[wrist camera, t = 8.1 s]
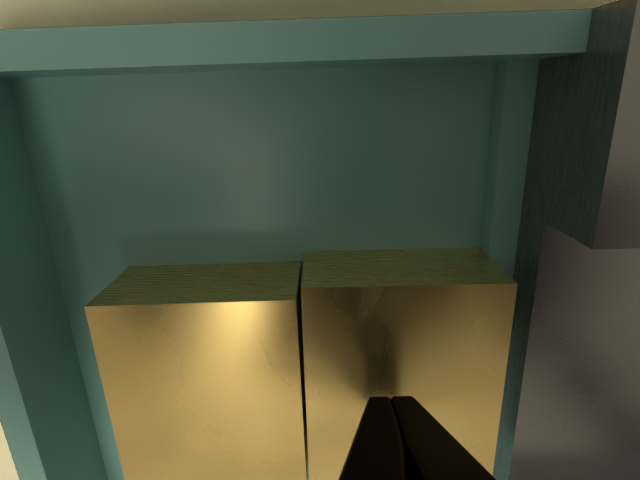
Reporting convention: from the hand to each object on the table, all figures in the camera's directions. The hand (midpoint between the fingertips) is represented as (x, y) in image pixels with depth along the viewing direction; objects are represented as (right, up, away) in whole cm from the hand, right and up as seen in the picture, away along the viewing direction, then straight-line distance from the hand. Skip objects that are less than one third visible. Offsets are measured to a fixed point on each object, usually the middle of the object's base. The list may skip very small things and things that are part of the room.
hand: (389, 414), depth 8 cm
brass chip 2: (0, +1, +2) cm, 3 cm away
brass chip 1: (-4, 0, +3) cm, 4 cm away
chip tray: (-3, +1, +3) cm, 4 cm away
